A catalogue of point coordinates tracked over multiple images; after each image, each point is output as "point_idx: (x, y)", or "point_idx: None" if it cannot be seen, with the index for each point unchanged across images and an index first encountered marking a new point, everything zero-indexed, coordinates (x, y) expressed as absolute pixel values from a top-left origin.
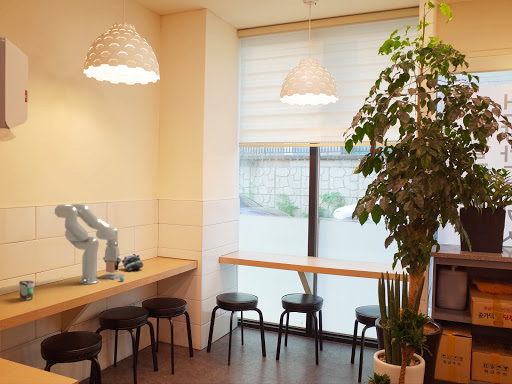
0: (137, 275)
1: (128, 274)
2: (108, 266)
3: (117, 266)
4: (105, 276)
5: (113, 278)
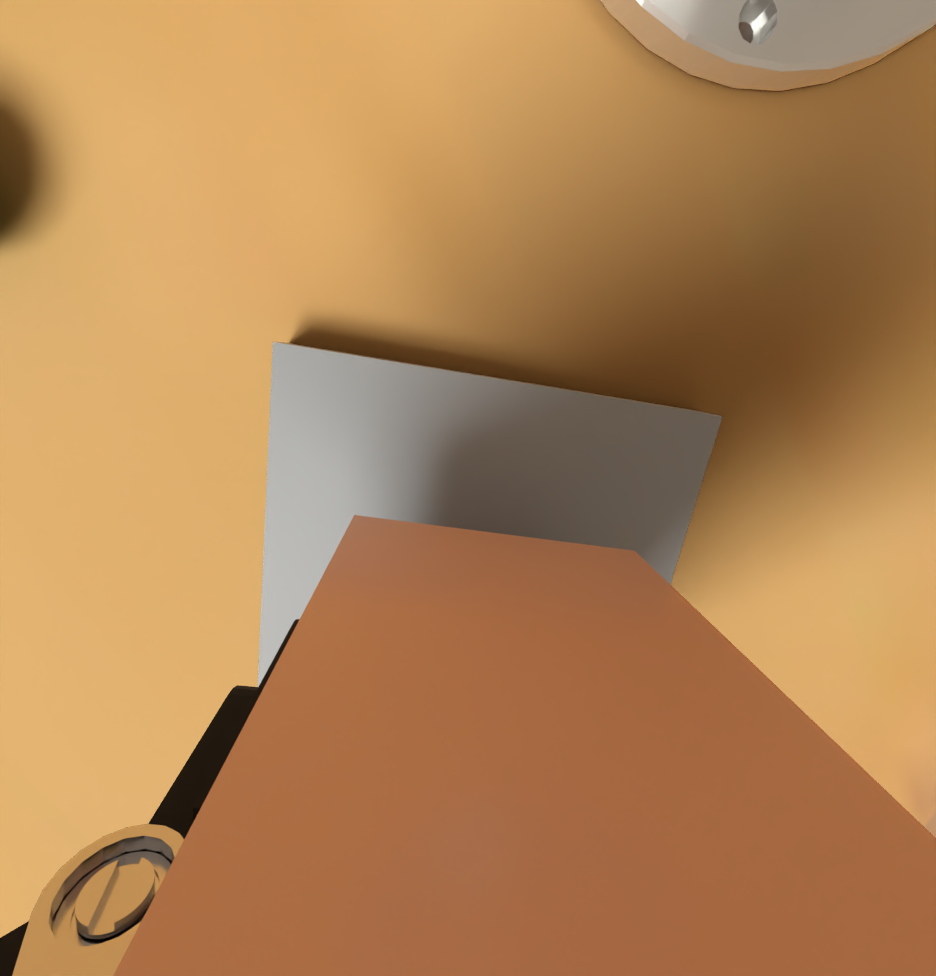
0: (41, 824)
1: None
2: (621, 655)
3: (186, 788)
4: (572, 428)
5: (299, 347)
